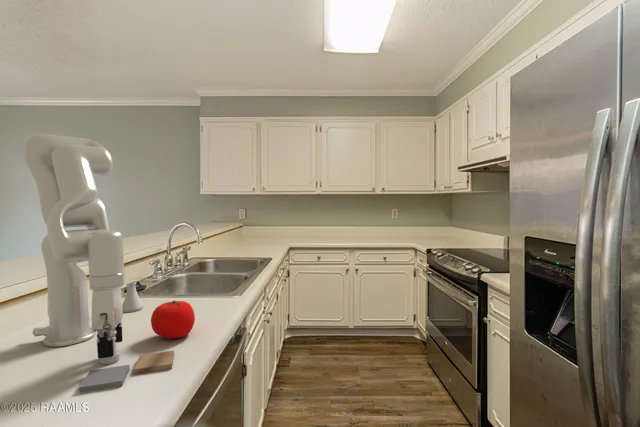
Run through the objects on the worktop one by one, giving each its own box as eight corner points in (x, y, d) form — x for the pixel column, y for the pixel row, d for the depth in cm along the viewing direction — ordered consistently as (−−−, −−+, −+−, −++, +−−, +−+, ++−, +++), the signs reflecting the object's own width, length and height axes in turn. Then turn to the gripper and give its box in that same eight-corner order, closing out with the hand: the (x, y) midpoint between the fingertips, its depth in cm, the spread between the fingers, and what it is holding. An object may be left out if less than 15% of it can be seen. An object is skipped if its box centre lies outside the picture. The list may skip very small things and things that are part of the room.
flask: (134, 313, 128) (133, 285, 128) (116, 312, 129) (115, 285, 129) (147, 307, 135) (146, 280, 135) (130, 306, 137) (129, 280, 136)
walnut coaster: (134, 374, 82) (134, 369, 82) (140, 359, 90) (139, 355, 90) (171, 368, 85) (171, 363, 85) (174, 355, 92) (174, 350, 92)
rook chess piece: (123, 360, 90) (122, 328, 89) (103, 366, 86) (102, 334, 86) (117, 355, 93) (115, 325, 92) (97, 361, 89) (96, 329, 89)
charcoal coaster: (79, 393, 75) (78, 387, 75) (90, 375, 82) (90, 370, 82) (122, 386, 77) (122, 380, 77) (129, 369, 85) (129, 364, 85)
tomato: (203, 331, 109) (202, 297, 109) (178, 346, 98) (177, 308, 98) (171, 327, 113) (169, 294, 112) (142, 342, 101) (141, 305, 101)
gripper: (99, 276, 96) (103, 339, 96) (78, 290, 79) (82, 366, 80) (131, 273, 98) (134, 335, 99) (116, 286, 82) (120, 361, 82)
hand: (111, 349), depth 89 cm, fingers open, 9 cm apart
